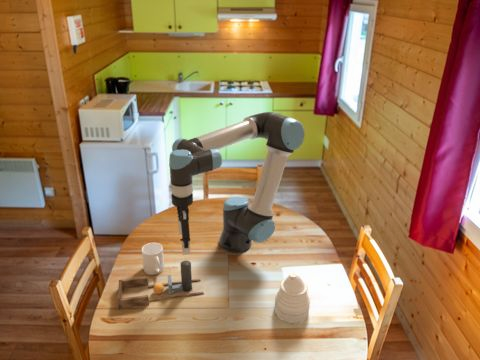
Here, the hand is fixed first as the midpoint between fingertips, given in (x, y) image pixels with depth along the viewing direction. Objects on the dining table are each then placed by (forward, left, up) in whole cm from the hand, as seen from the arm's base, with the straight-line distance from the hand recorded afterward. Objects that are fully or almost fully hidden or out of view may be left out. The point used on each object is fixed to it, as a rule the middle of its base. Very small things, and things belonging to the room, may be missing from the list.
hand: (184, 243), depth 149 cm
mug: (+12, -14, -22) cm, 28 cm away
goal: (+20, 0, -22) cm, 30 cm away
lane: (+5, 0, -22) cm, 22 cm away
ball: (+11, 0, -20) cm, 23 cm away
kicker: (+2, 0, -22) cm, 22 cm away
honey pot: (-37, +20, -22) cm, 48 cm away
